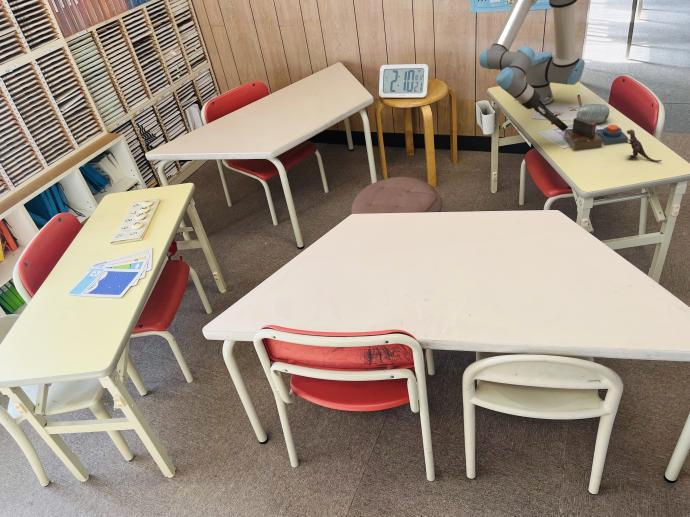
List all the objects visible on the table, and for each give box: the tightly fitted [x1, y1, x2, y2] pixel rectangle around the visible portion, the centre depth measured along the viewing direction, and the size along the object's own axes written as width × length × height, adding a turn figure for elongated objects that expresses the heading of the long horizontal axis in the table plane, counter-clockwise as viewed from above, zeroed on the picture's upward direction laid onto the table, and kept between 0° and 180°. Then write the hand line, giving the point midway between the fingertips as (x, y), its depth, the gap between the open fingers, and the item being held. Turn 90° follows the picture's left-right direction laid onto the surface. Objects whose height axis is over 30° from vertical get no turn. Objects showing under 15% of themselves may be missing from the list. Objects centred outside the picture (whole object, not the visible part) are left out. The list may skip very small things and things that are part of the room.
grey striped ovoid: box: [575, 103, 610, 124], centre depth 240 cm, size 14×10×10 cm
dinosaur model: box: [626, 129, 663, 163], centre depth 207 cm, size 4×12×15 cm
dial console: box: [563, 128, 603, 152], centre depth 228 cm, size 14×14×4 cm
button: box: [607, 124, 619, 132], centre depth 225 cm, size 4×4×2 cm
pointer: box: [572, 117, 597, 138], centre depth 225 cm, size 10×2×6 cm, turn 28°
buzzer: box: [595, 126, 629, 146], centre depth 227 cm, size 11×9×4 cm
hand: (565, 128), depth 229 cm, fingers closed
